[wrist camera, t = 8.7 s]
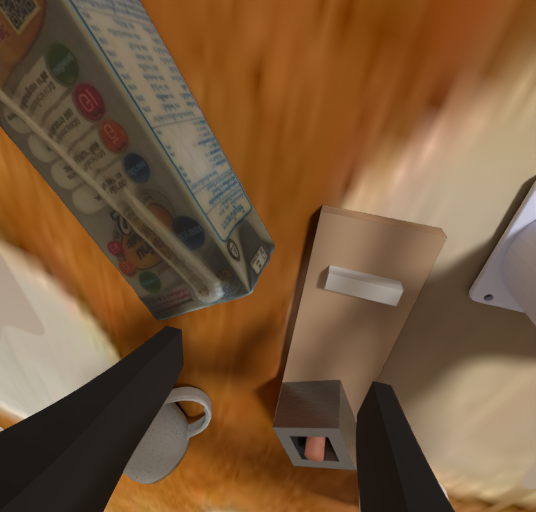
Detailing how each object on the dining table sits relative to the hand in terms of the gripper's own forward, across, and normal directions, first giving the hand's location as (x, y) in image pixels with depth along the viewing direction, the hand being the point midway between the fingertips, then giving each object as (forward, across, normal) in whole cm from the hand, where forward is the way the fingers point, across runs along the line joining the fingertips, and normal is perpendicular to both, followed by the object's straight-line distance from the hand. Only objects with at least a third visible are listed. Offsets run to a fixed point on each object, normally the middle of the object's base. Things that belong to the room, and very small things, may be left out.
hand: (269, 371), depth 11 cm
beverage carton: (+11, +10, -5) cm, 16 cm away
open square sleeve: (+9, -4, +14) cm, 17 cm away
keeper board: (+10, -4, +8) cm, 14 cm away
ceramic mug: (+11, +11, +23) cm, 27 cm away
